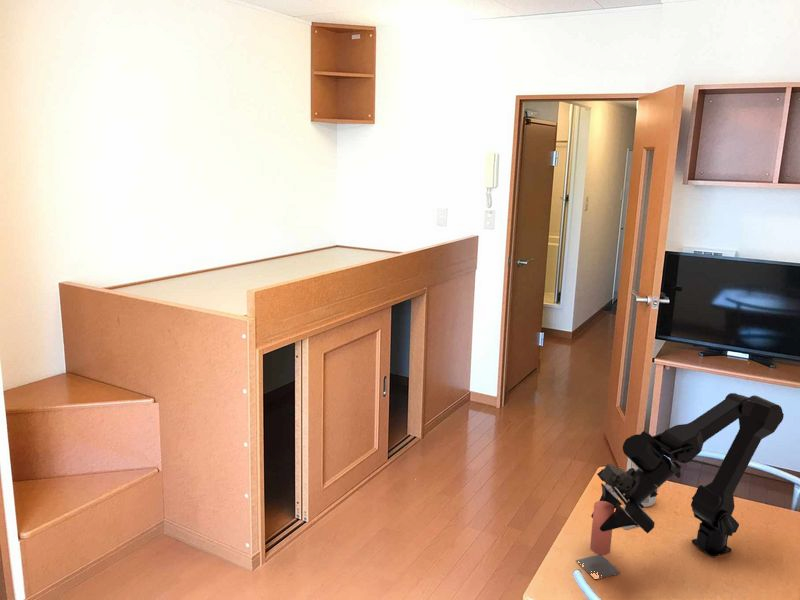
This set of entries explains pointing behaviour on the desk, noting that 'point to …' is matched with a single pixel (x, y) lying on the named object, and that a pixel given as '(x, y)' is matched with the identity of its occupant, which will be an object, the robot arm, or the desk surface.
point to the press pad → (598, 566)
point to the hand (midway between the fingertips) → (596, 523)
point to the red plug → (598, 538)
